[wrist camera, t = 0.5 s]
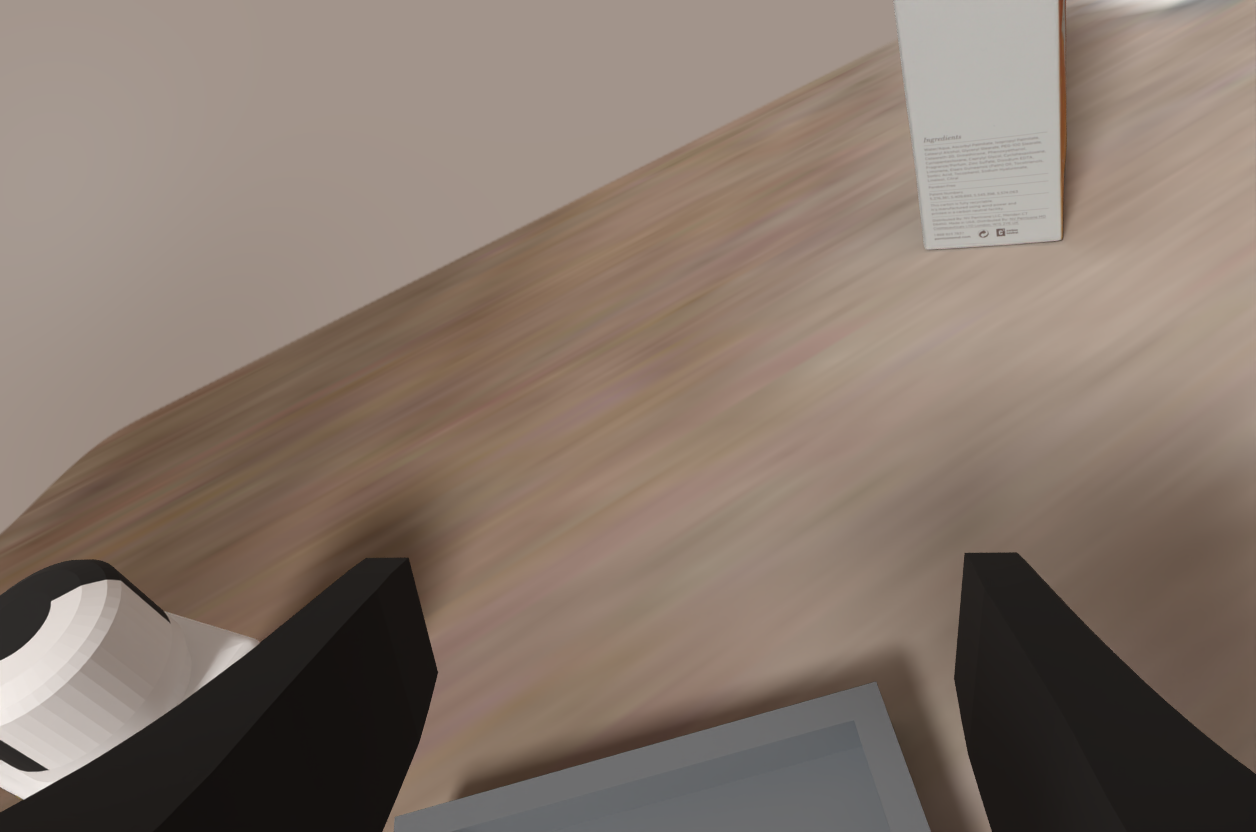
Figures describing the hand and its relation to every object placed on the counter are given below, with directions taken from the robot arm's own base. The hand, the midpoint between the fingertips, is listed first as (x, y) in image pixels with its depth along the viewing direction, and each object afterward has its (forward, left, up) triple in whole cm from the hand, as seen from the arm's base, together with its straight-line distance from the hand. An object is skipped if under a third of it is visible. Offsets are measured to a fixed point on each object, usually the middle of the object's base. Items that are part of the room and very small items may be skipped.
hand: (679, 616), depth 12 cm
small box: (+33, -17, -19) cm, 41 cm away
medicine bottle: (+12, +21, -19) cm, 31 cm away
